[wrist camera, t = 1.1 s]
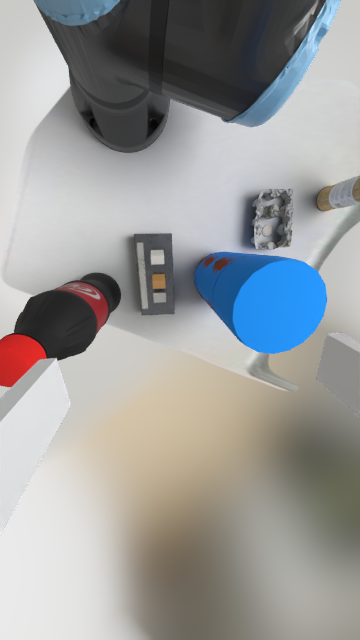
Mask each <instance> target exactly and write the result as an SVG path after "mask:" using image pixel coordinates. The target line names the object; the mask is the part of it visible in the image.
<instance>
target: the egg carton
mask: <svg viewBox="0 0 360 640" xmlns="http://www.w3.org/2000/svg"><path fill="white" fill-rule="evenodd" d="M292 193H293V191H292V189H269V190H262V191H261V193H260V194H259V196H258V198H257V200H255V201H253V207H255V208H256V213H257V215H256V218H255V219H254V220H252V226H254V227H255V228H254V237H252V238H251V243H253V244H255V246H256V249H267V248H268V249H275V248H278V247H289V246H290V242H291V236H292V230H291V225H292V213H293V204H292V197H291V195H292ZM263 195H264V197H265V199H266V200H272V199H274V198H277V197H278V196H280V195H281V198H282V199H284V200H285V205H284V206H282V207H281V208H280V209H279V207H278V206H277V205H275V204H273V205H270V206H268V207H266V208H265V209H263V206H262V205H260V204H259V203H260V202H261V201H262V198H261V197H262V196H263ZM262 215H263V216H264V217H265V218H266V219H270V218H274V217H278V216H280V217H282V218H283V224H280V225H279V227H278V229H277V232H278V234H279V235H281V241H279V242H278V243H277V244H276V245H275V244H274V243H273V242H265V243H263V244H262V245H260V244H259V243H257V241H256V239H257V237H258V236H259V235H260V234H261V229H262V227H261V226H260V225H256V224H257V223H258V220H259V218H260V217H261V216H262ZM257 219H258V220H257ZM271 233H272V227H271V226H270V225H265V226H264V227H263V229H262V234H263V235H264V236H266V237H267V236H269V235H271Z"/></svg>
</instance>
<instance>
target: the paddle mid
mask: <svg viewBox="0 0 360 640" xmlns="http://www.w3.org/2000/svg"><path fill="white" fill-rule="evenodd" d="M152 283H153V289H164V288H166V286H165V274H152Z"/></svg>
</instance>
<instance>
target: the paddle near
mask: <svg viewBox="0 0 360 640" xmlns="http://www.w3.org/2000/svg"><path fill="white" fill-rule="evenodd" d="M154 264H164V250H151V265H154Z"/></svg>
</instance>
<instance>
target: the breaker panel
mask: <svg viewBox="0 0 360 640" xmlns="http://www.w3.org/2000/svg"><path fill="white" fill-rule="evenodd" d="M134 236H135V247H136V258H137V269H138V280H139V291H140V302H141V313H142V315H158V314H174V288H173V259H172V234H134ZM151 250H164V264H154V265H151ZM152 274H165V286H166V288H164V289H153V283H152ZM153 293H166V302H161V303H154V298H153Z"/></svg>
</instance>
